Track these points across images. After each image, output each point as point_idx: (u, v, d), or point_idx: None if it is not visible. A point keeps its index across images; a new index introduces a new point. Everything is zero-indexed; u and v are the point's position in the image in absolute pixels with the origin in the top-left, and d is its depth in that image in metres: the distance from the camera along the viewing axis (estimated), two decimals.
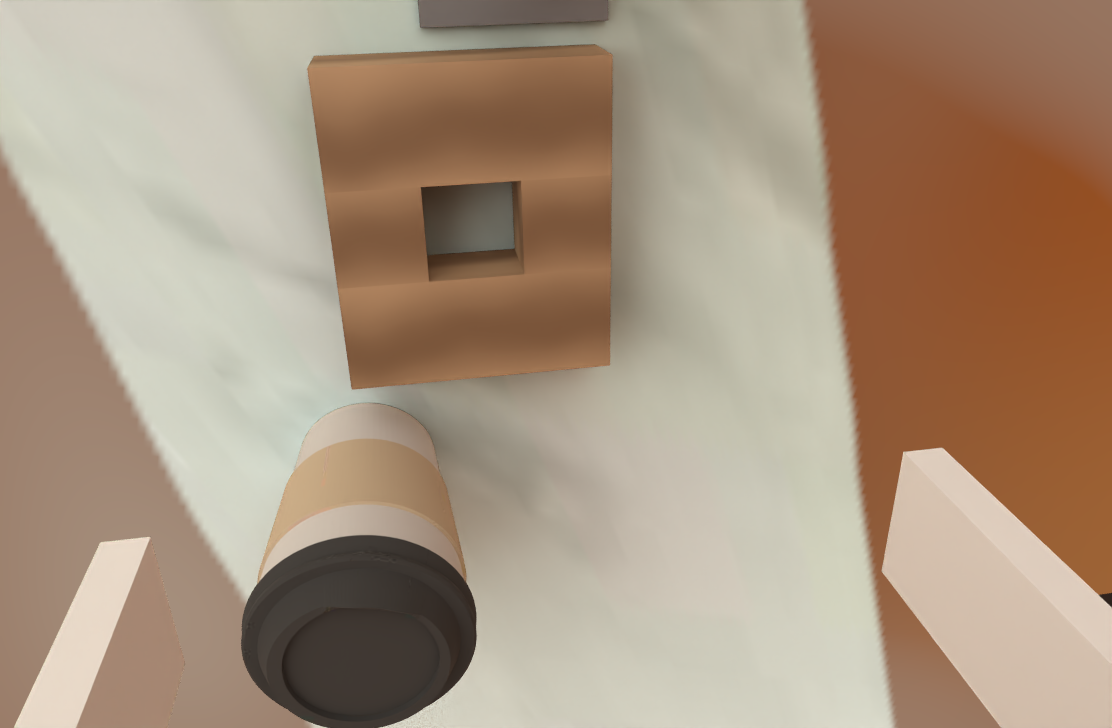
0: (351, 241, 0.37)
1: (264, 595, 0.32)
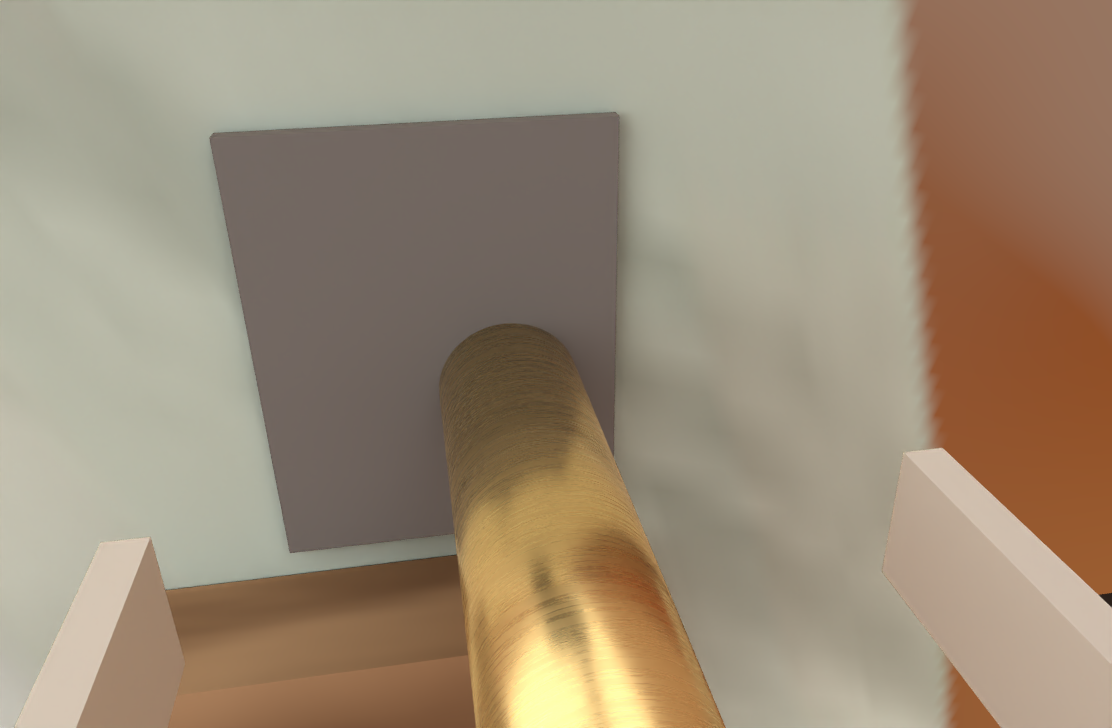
0: None
1: None
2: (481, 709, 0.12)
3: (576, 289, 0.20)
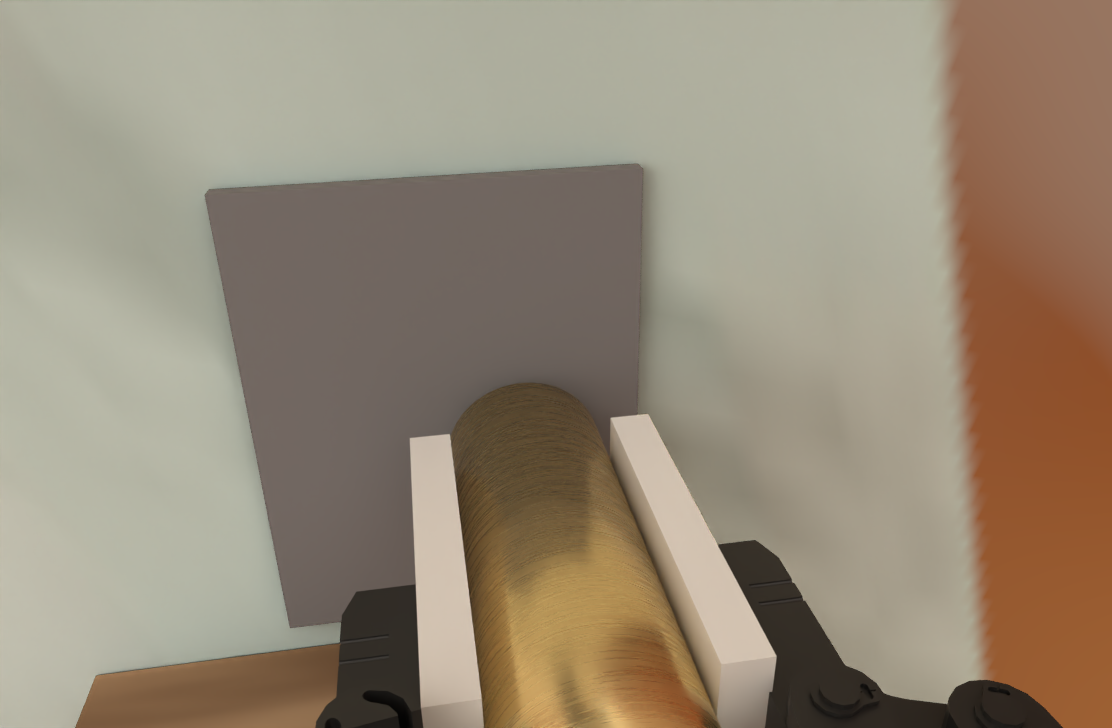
0: None
1: None
2: None
3: (597, 349, 0.18)
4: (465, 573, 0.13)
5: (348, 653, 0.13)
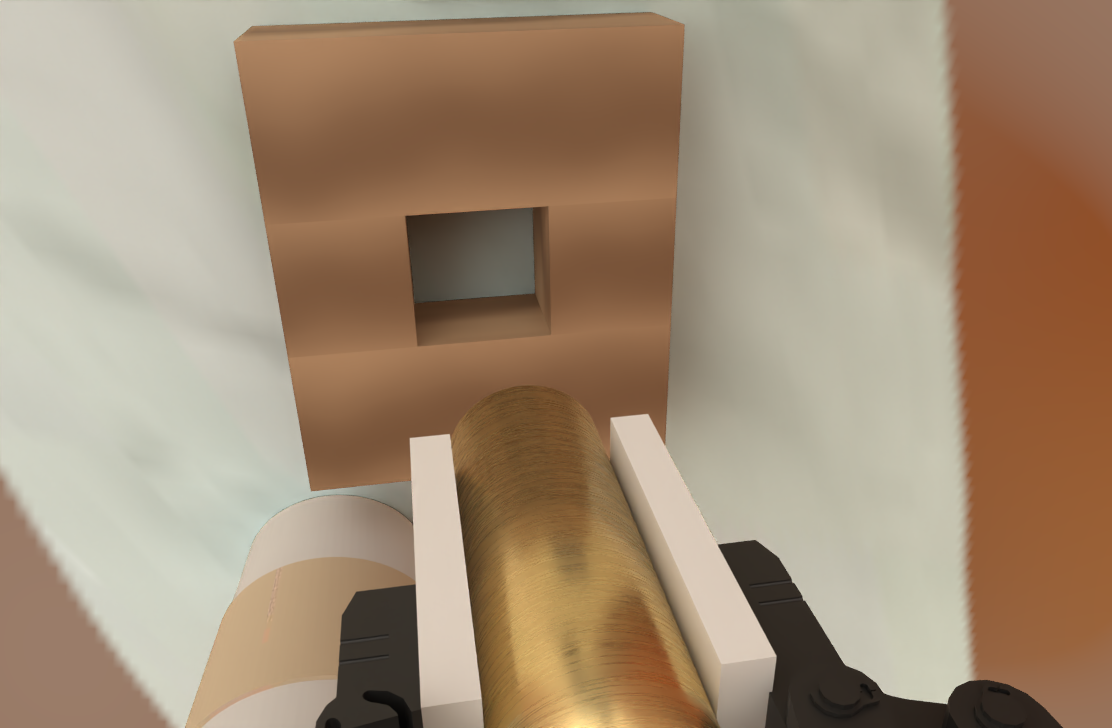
0: (305, 291, 0.26)
1: None
2: None
3: None
4: (465, 573, 0.13)
5: (348, 653, 0.13)
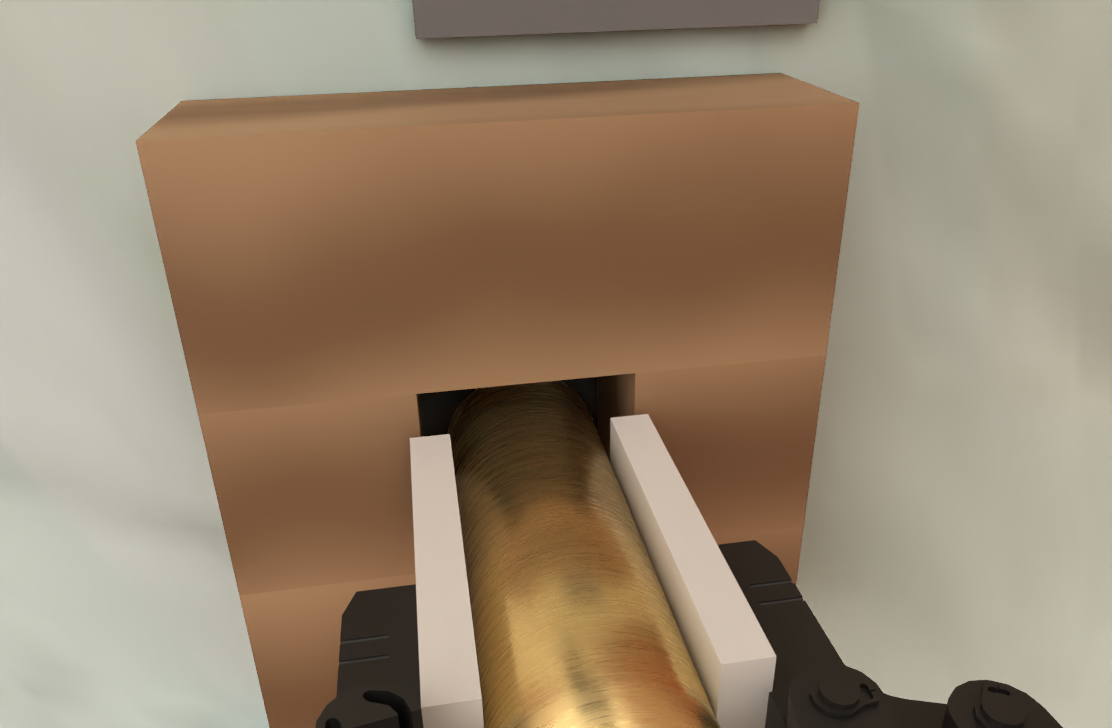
0: (264, 505, 0.17)
1: None
2: None
3: None
4: (465, 573, 0.13)
5: (348, 653, 0.13)
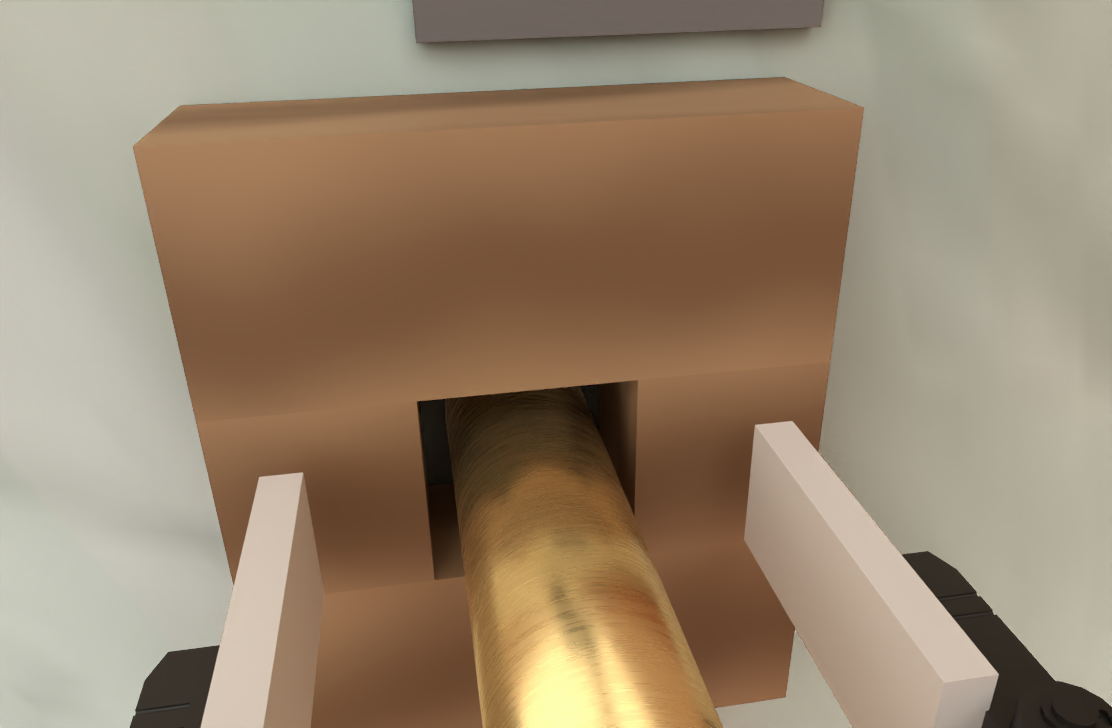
0: None
1: None
2: (490, 723, 0.12)
3: None
4: (276, 636, 0.12)
5: (140, 725, 0.12)
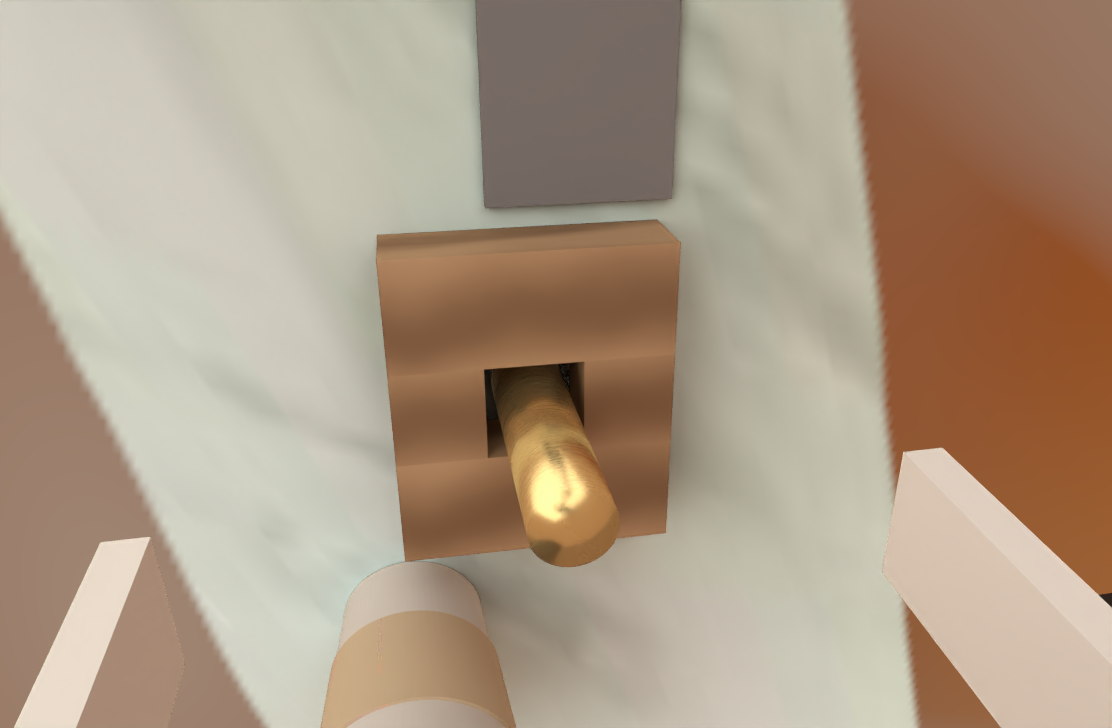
0: (411, 421, 0.37)
1: None
2: (519, 481, 0.32)
3: (657, 43, 0.35)
4: None
5: None
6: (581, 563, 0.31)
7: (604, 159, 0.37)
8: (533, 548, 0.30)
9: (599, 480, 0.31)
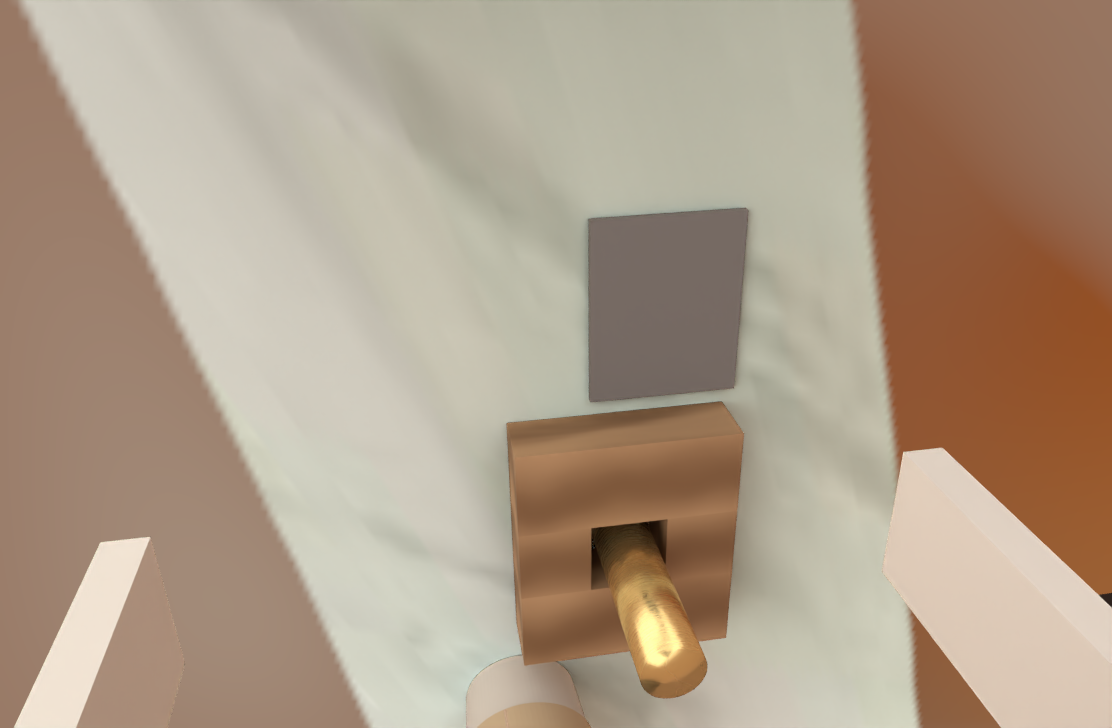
0: (535, 566, 0.48)
1: None
2: (629, 631, 0.43)
3: (726, 281, 0.46)
4: None
5: None
6: (677, 695, 0.42)
7: (683, 364, 0.47)
8: (644, 687, 0.41)
9: (691, 635, 0.41)
